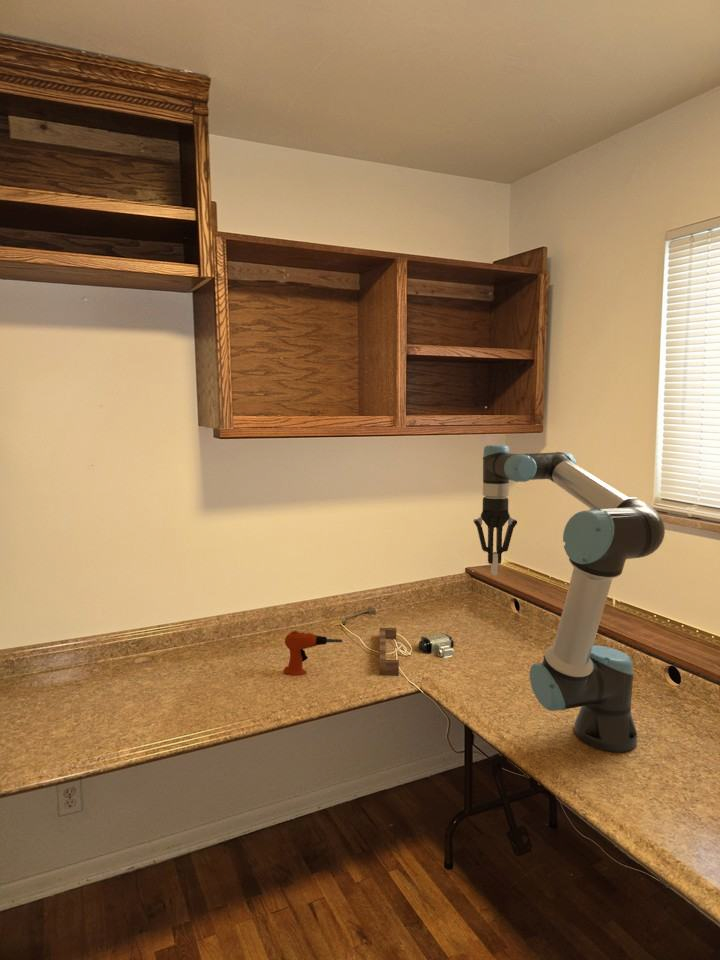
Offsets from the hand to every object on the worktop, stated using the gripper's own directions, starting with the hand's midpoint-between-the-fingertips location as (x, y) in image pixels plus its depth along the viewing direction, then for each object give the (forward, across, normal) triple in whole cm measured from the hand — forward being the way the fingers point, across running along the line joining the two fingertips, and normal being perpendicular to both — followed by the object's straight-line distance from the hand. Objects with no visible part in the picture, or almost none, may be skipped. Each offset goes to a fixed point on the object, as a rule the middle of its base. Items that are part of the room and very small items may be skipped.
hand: (494, 573), depth 180 cm
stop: (+34, +34, -17) cm, 51 cm away
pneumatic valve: (+32, +12, -16) cm, 38 cm away
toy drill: (+34, +56, -2) cm, 66 cm away
